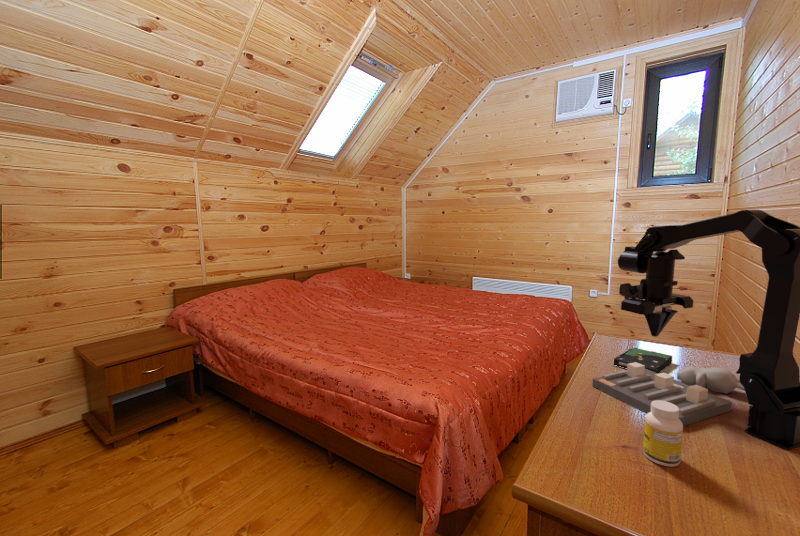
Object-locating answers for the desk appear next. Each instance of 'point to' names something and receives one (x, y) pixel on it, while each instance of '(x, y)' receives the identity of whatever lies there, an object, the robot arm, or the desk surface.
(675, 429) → the supplement bottle
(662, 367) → the disk drive
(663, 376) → the tab middle
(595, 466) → the desk surface
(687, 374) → the bunny figurine
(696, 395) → the tab near
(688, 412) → the switch panel
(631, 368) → the tab far
